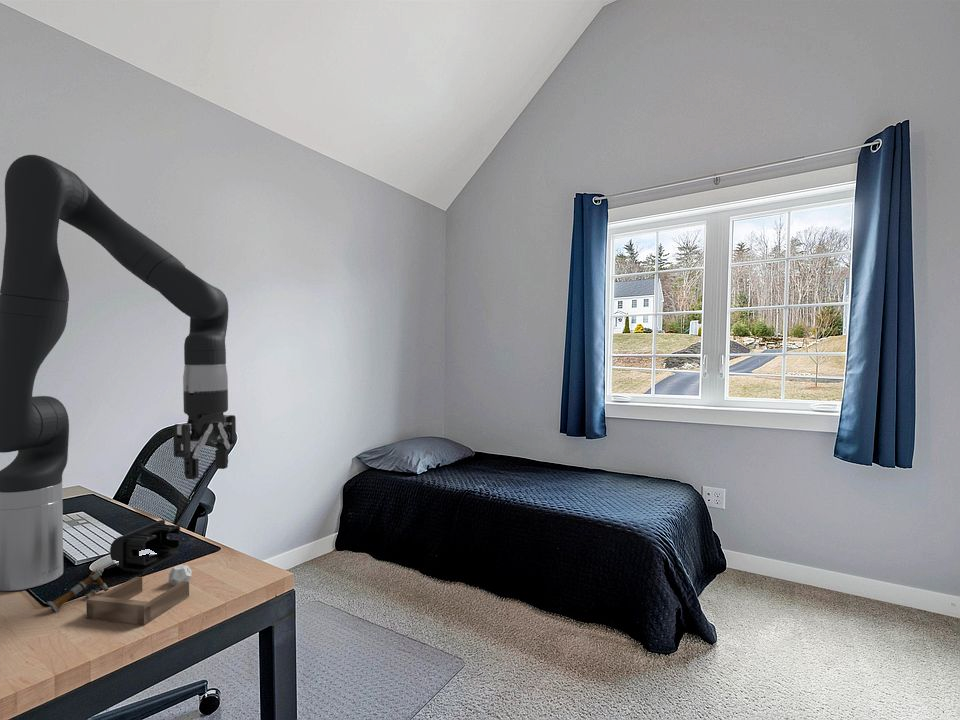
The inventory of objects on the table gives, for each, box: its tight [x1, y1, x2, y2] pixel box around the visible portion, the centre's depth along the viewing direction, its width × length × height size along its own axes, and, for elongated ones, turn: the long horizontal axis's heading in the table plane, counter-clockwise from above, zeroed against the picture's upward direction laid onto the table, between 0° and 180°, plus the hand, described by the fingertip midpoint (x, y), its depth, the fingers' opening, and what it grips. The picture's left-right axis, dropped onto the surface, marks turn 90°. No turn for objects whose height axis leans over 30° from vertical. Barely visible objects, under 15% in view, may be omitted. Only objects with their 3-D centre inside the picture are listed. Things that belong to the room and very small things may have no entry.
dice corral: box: [85, 576, 190, 626], centre depth 83 cm, size 10×9×3 cm
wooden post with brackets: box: [46, 568, 110, 613], centre depth 84 cm, size 2×8×4 cm, turn 150°
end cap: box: [109, 519, 181, 573], centre depth 100 cm, size 10×7×7 cm
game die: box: [168, 564, 193, 587], centre depth 91 cm, size 4×4×3 cm
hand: (207, 473), depth 97 cm, fingers open, 7 cm apart
